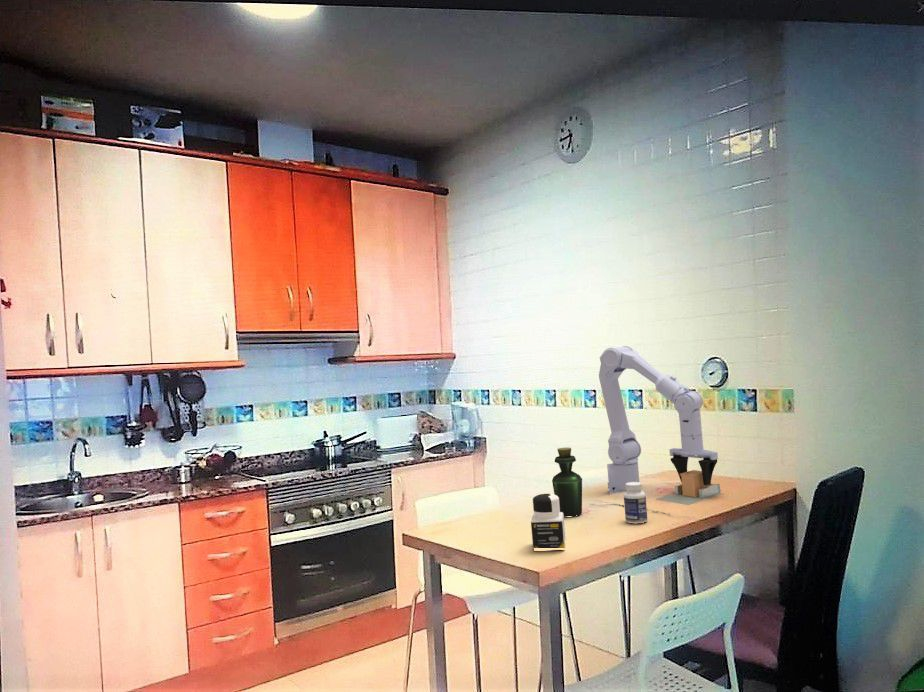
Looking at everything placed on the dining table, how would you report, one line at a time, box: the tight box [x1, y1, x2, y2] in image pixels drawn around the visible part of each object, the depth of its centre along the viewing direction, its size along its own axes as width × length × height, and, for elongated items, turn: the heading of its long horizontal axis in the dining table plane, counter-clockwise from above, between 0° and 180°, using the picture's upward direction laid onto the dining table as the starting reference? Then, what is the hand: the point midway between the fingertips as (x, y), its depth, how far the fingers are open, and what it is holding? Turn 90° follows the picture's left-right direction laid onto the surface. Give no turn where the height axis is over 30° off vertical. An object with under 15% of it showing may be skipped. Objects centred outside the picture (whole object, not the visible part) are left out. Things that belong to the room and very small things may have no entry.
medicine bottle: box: [530, 493, 567, 549], centre depth 155 cm, size 7×7×12 cm
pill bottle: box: [623, 482, 648, 525], centre depth 170 cm, size 5×5×10 cm
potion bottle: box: [551, 446, 583, 517], centre depth 183 cm, size 8×8×18 cm
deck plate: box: [655, 492, 725, 506], centre depth 187 cm, size 16×11×1 cm
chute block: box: [680, 469, 708, 497], centre depth 188 cm, size 6×5×6 cm
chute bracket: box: [674, 482, 721, 499], centre depth 189 cm, size 8×9×2 cm
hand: (695, 483), depth 189 cm, fingers open, 7 cm apart
